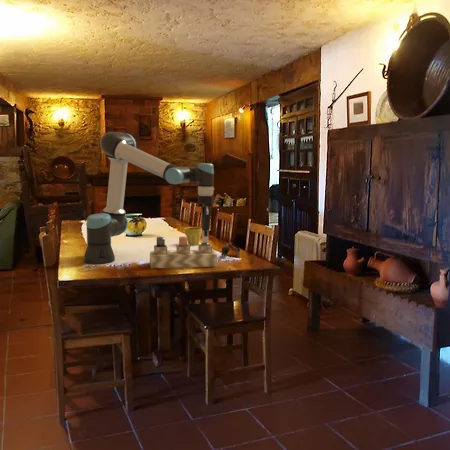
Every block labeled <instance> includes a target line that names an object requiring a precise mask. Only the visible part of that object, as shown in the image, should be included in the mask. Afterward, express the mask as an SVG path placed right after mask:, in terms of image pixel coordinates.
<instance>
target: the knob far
mask: <svg viewBox="0 0 450 450" xmlns="http://www.w3.org/2000/svg"><path fill="white" fill-rule="evenodd" d="M200 244H201V246H209V244H210V242H208V243H203V241H202V242H200Z"/></svg>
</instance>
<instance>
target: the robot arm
mask: <svg viewBox="0 0 450 450" xmlns="http://www.w3.org/2000/svg"><path fill="white" fill-rule="evenodd" d="M99 141H100V142H99V144H100V145H99V146H100V149H101V151H102V152H103V153H104V154H106V155H107V159H109V161H110V164H109V165H110V166H109V174H108V186H107V198H106V206H105V207H104V208H103V210H102V212H100V213H94V214H90V215H88V216H87V218H86V224H85V225H86V245H87V246H86V249H85V252H84V255H83V262H84V263H86V264H92V263H93V264H92V265H96V264H97V265H99V264H100V263H103V264H109V263H108V262H110V263H112V262H115V260H116V256H115V254H114V253H115V252H114V250H113V247H112V238H113V237H117V236H120V235H122V234H123V233H125V232H126V231H127V229H128V226H129V220H128V218H127V216H126V214H127V213H126V210H125V209H124V203H125V202H124V201H125V195H126V194H125V192H126V184H127V173H128V165H129V163H130V164H132V165H134V166H137V167H139V168H141V169H143V170H145V171H147V172H149V173H151V174H153V175H156V176H158V177H160V178H162V179H164V180H166V182H167V183H168V184H171V185H180V184H185V183H196V184H197V183H198V184H197V194H198V195H197V202H198V203H199V204H201V207H200V210H201V211H200V212H201V228H202V242H203V243H209V229H210V217H211V216H210V215H211V207H210V204H211V205H212V204H213V203H214V191H215V187H214V180H215V179H214V178H215V176H214V175H215V172H214V171H215V170H214V164H213V163H204V162H203V163H202V162H201V163H198V165H197V166H196V167H194V166H193V167H192V166H191V167H190V166H176V165H174V164H171V163H169V162H167V161H164V160H163V159H161V158H159V157H156V156H154V155H152V154H149V153H147V152H145V151H144V150H141V149H139V148H137V142H136V140H135V138H134V137H133V135H132V134H129V133H127V132H124V131H122V132H121V131H108V132H106V133H104V134H103V135H102V136H101V138H100V140H99ZM100 265H101V264H100Z"/></svg>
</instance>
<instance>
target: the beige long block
mask: <svg viewBox="0 0 450 450" xmlns="http://www.w3.org/2000/svg"><path fill="white" fill-rule="evenodd" d="M197 248H198V249H191V245H189V244H188V243H187V246H186V247H180V246H179V244H176V249H175V250H171V249H170V250H168V246H167V244H165V247H157V244H154V245H153V250H149V264H150V265H149V267H150V269H168V268H169V269H170V268H172V269H173V268H175V269H176V268H202V267H203V268H204V267H218V254H217V252H216V251H215V249H213V245H212V244H211V243H209V246H201V243H199V244H198V247H197Z"/></svg>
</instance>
